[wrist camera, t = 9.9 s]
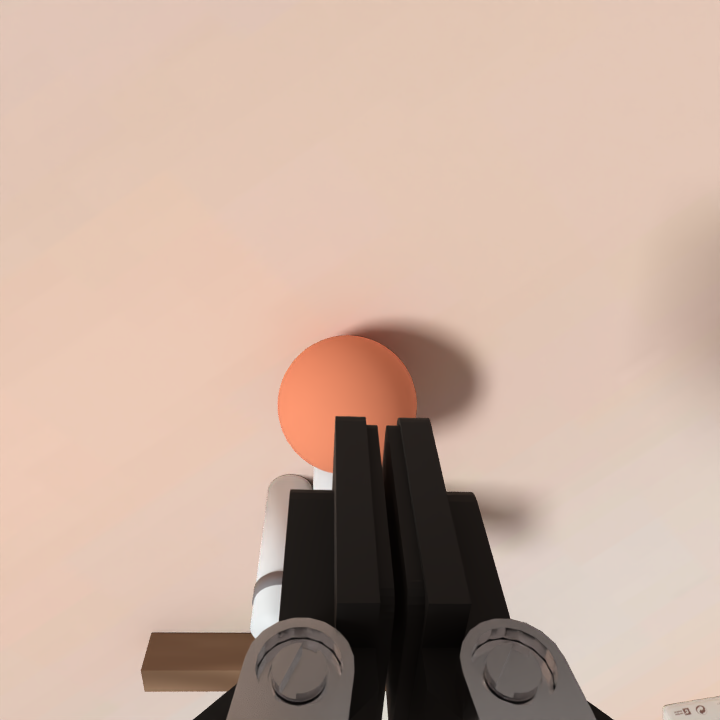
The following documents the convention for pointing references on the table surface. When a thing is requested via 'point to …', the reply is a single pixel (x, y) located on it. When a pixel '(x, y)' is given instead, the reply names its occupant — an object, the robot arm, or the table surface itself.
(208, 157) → the table surface
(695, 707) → the supplement box
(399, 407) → the ball
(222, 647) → the back wall
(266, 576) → the pin
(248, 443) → the table surface
